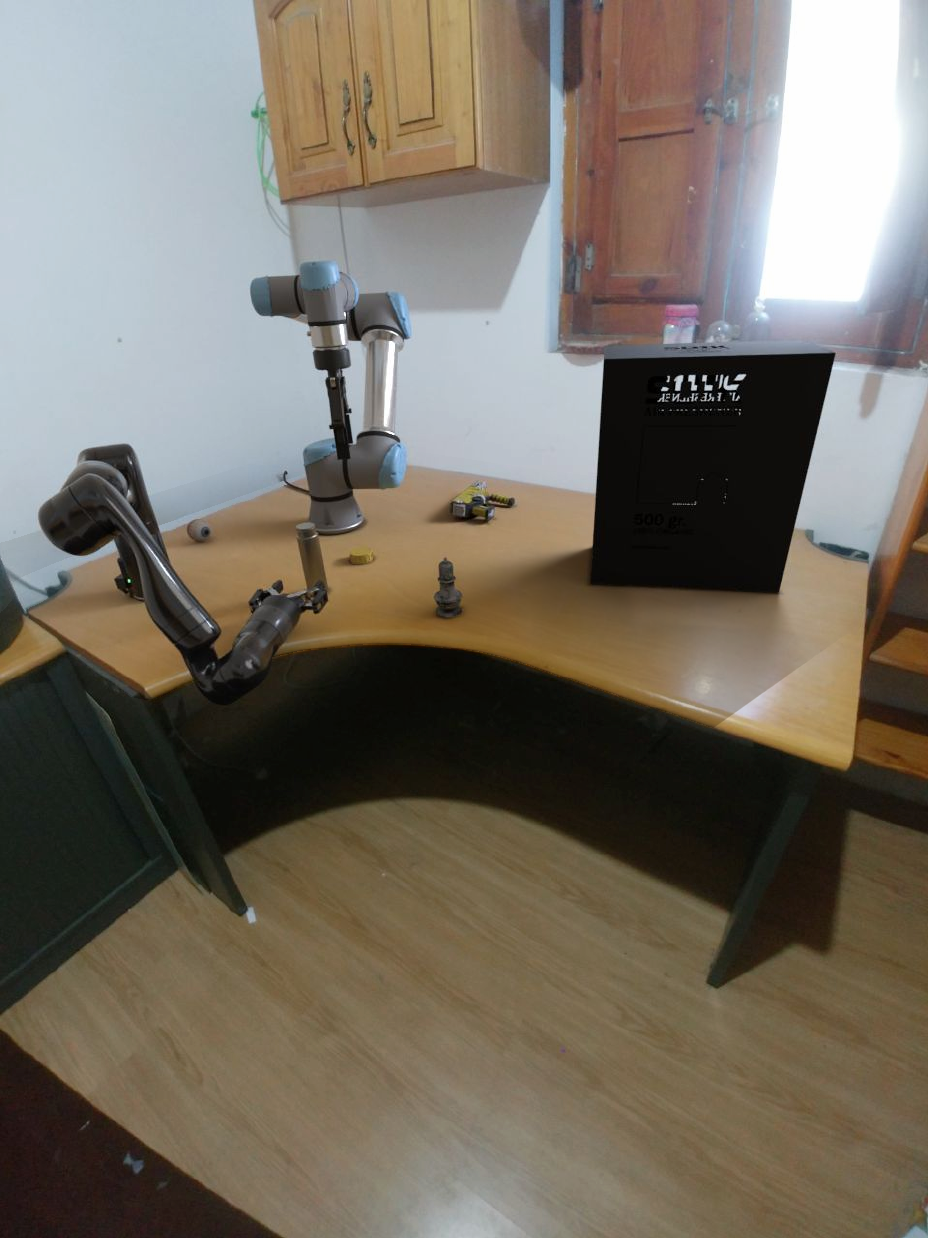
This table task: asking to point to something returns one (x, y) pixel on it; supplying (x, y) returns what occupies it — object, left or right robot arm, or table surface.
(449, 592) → the dark grey chess piece
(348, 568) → the table surface
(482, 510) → the toy gun
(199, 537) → the eyeball
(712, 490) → the cardboard box
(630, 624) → the table surface
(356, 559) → the lid
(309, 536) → the jar
